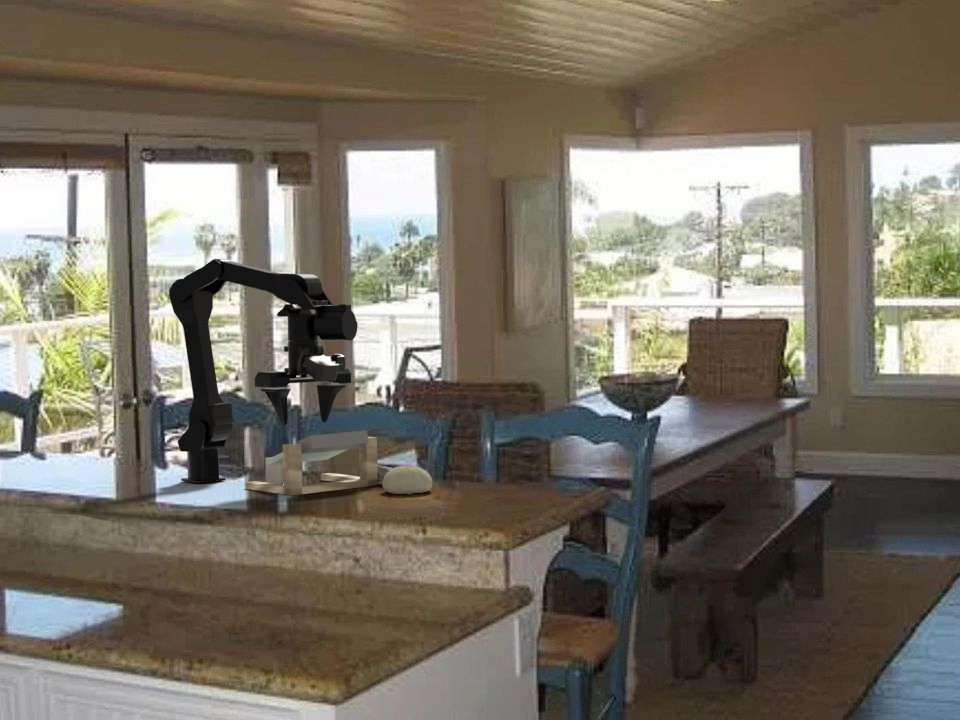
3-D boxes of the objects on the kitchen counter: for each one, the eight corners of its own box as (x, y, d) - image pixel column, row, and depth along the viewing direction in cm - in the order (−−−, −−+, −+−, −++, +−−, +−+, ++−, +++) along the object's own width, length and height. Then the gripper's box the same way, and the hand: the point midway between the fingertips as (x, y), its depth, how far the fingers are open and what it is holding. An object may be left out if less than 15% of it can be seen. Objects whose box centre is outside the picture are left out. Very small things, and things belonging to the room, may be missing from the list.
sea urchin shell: (442, 479, 285) (430, 451, 280) (431, 513, 280) (419, 486, 275) (396, 477, 288) (383, 450, 283) (385, 512, 283) (372, 485, 278)
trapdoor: (267, 469, 290) (264, 457, 290) (327, 463, 299) (324, 451, 300) (310, 448, 279) (307, 435, 280) (371, 442, 289) (368, 430, 289)
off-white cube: (280, 459, 294) (280, 485, 295) (301, 457, 298) (302, 483, 298) (265, 457, 298) (265, 483, 298) (286, 455, 302) (287, 481, 302)
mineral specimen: (390, 485, 300) (389, 463, 300) (428, 486, 291) (428, 463, 291) (363, 487, 296) (362, 464, 296) (401, 487, 287) (400, 464, 287)
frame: (245, 488, 290) (244, 440, 290) (330, 478, 304) (329, 433, 303) (291, 495, 279) (290, 445, 279) (377, 485, 293) (376, 437, 292)
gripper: (287, 343, 279) (288, 429, 280) (368, 339, 292) (370, 422, 293) (252, 342, 288) (253, 426, 288) (333, 339, 300) (334, 419, 301)
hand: (304, 423), depth 292 cm, fingers open, 9 cm apart
